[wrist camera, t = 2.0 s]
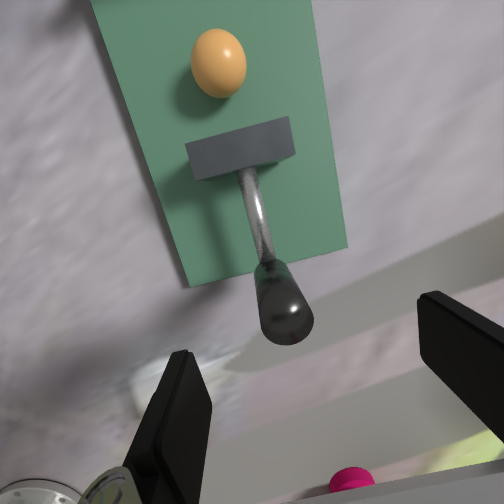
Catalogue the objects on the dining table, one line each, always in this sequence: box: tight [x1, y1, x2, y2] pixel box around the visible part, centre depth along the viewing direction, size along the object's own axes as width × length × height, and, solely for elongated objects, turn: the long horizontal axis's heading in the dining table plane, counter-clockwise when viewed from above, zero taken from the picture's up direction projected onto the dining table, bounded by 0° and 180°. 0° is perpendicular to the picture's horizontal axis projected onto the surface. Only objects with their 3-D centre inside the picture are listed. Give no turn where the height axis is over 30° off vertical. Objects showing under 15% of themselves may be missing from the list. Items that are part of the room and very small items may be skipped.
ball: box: [191, 29, 247, 98], centre depth 18 cm, size 4×4×4 cm
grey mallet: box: [185, 116, 314, 345], centre depth 17 cm, size 12×7×11 cm, turn 14°
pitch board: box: [90, 0, 348, 287], centre depth 22 cm, size 25×16×2 cm, turn 14°
